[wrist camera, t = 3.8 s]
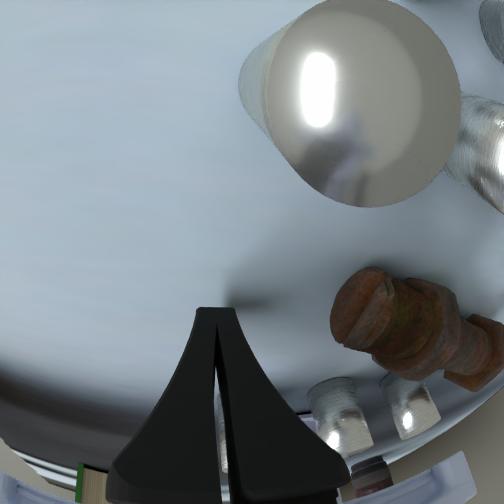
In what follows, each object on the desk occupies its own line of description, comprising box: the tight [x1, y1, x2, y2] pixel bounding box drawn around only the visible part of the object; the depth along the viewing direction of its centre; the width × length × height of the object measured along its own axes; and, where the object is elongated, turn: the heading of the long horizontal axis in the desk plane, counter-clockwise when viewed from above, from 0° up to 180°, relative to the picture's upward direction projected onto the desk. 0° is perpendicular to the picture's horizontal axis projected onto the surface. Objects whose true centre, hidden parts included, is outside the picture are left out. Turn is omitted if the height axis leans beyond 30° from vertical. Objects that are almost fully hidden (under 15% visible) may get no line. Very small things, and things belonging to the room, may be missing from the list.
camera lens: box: [351, 456, 393, 498], centre depth 37 cm, size 8×8×15 cm
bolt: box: [330, 267, 504, 392], centre depth 12 cm, size 6×5×15 cm
